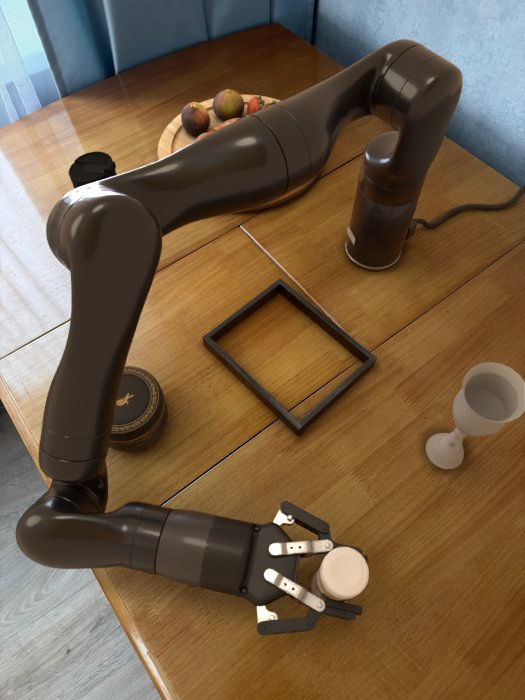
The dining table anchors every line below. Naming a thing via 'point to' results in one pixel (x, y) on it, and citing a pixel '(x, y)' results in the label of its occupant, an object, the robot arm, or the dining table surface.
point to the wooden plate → (215, 126)
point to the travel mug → (91, 168)
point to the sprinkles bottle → (341, 575)
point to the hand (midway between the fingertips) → (363, 585)
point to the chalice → (479, 410)
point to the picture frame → (316, 317)
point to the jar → (138, 411)
